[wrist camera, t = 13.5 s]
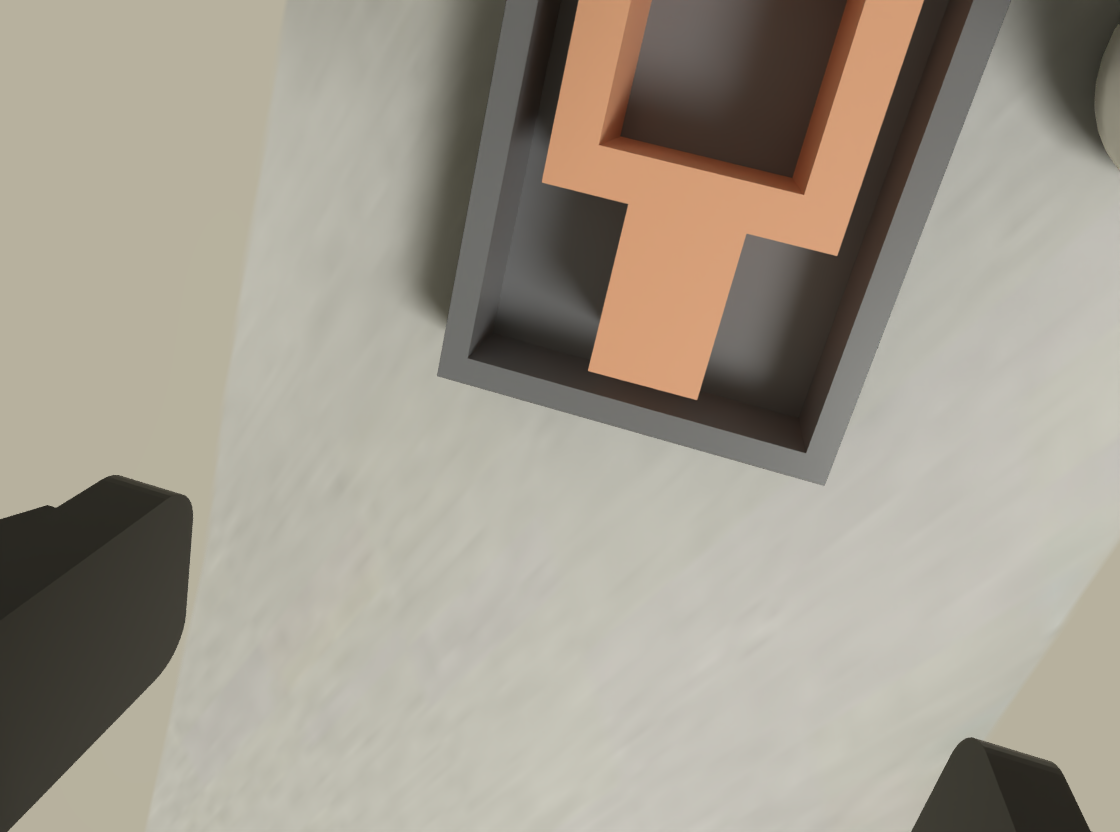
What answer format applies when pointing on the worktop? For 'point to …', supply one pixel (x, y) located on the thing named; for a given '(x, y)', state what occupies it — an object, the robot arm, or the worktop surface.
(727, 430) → the tray
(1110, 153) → the plastic bottle
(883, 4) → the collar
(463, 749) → the worktop surface
